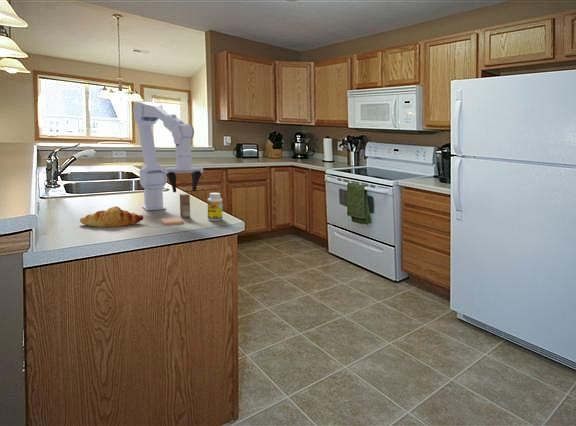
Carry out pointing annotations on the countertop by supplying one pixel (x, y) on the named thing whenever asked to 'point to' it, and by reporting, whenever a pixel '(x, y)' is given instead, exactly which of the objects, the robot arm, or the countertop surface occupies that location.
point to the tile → (172, 221)
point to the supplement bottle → (215, 207)
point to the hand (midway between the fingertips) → (184, 191)
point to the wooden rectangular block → (184, 205)
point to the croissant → (111, 218)
